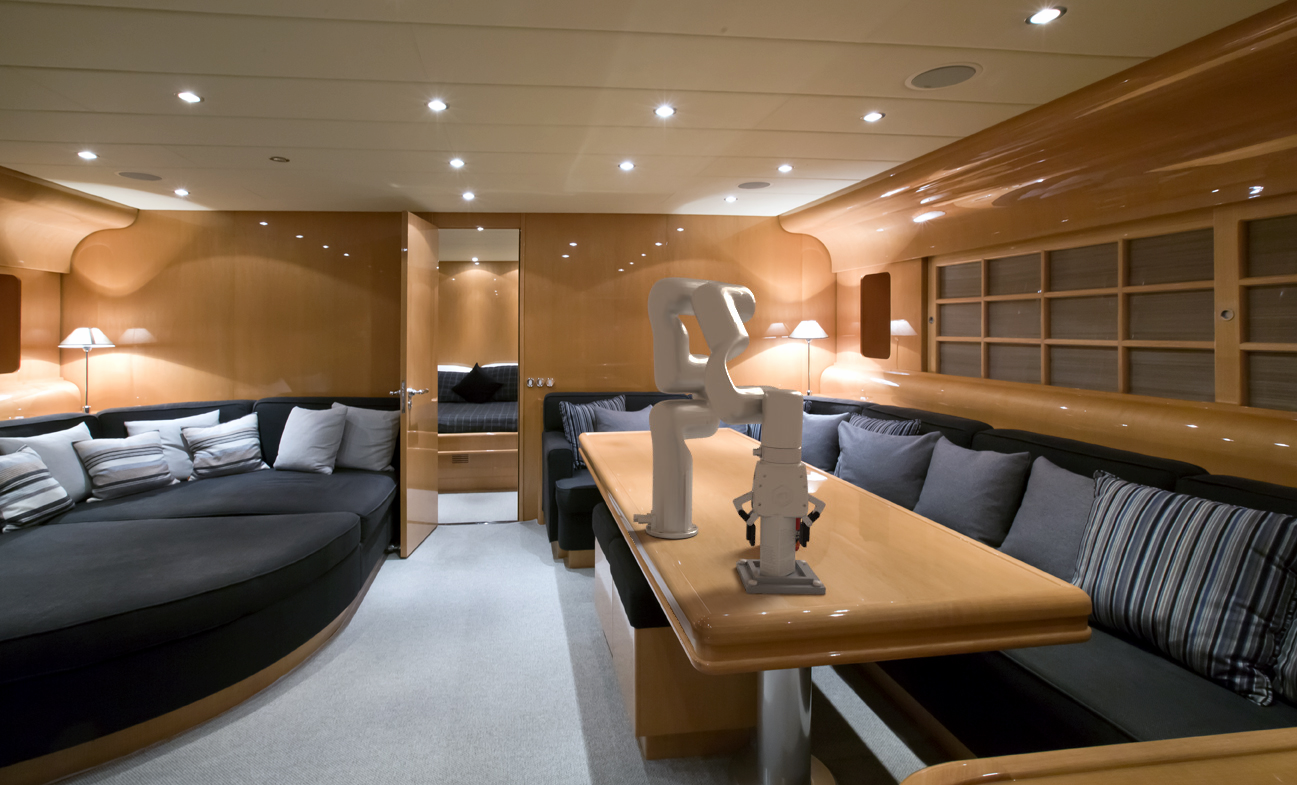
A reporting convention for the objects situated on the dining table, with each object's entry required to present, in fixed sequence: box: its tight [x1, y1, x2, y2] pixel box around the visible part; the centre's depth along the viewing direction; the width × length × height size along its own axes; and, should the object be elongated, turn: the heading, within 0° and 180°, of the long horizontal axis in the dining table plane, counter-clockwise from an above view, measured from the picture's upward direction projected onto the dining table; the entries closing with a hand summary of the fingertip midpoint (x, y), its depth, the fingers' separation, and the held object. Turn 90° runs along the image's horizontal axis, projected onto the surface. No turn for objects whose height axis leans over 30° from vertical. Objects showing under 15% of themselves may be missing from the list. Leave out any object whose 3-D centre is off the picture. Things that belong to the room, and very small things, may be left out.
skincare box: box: [759, 515, 796, 576], centre depth 121 cm, size 6×4×12 cm
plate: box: [735, 558, 827, 595], centre depth 121 cm, size 14×14×2 cm
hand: (777, 544), depth 121 cm, fingers open, 9 cm apart
